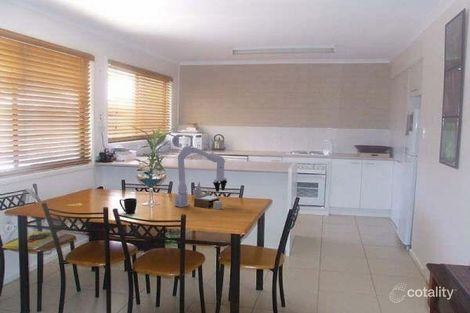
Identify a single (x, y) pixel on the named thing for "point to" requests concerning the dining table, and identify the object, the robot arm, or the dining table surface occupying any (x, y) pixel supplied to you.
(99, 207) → the dining table surface
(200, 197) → the trapdoor
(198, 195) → the crystal
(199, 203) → the frame
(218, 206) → the white block
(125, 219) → the dining table surface
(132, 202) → the mug
